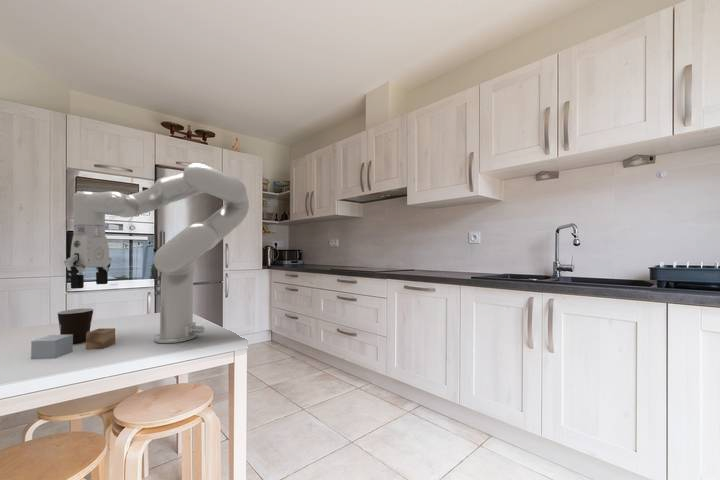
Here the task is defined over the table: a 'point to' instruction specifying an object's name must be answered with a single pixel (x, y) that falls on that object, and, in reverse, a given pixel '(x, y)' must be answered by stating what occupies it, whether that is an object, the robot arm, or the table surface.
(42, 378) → the table surface
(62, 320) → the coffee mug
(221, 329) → the table surface
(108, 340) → the walnut block
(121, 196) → the robot arm
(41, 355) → the slate block
